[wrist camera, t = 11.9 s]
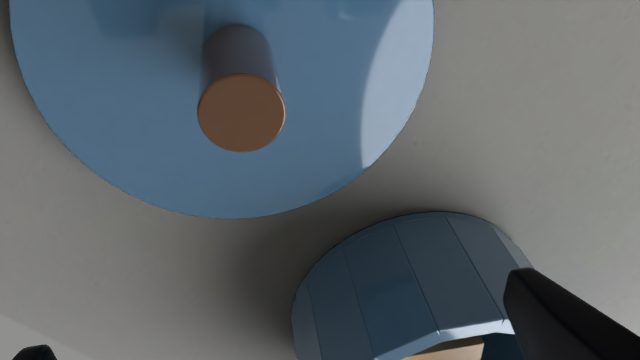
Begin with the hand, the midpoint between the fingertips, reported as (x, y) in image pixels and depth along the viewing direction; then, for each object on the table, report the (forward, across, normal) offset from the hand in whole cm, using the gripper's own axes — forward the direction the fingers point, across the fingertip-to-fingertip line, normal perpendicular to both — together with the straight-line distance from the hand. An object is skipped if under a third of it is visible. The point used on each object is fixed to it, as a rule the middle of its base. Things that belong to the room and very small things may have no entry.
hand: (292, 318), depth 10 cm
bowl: (+11, -7, +14) cm, 19 cm away
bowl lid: (+10, 0, -2) cm, 10 cm away
